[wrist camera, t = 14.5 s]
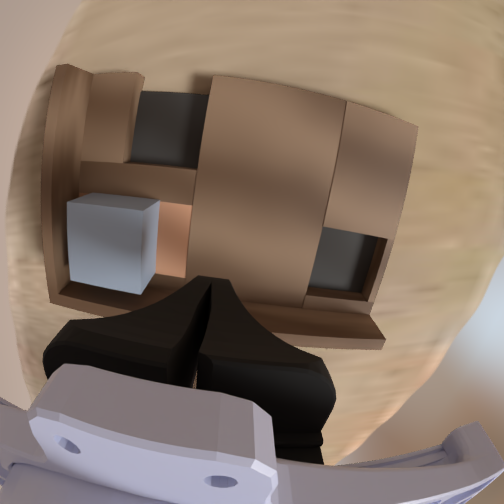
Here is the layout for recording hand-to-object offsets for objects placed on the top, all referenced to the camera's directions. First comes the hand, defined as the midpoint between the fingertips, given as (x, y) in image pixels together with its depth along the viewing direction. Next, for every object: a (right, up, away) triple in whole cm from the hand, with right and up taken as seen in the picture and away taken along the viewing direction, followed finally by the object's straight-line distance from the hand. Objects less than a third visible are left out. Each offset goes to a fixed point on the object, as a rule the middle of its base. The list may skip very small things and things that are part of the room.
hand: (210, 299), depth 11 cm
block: (-6, +3, +5) cm, 8 cm away
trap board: (+1, +5, +6) cm, 8 cm away
